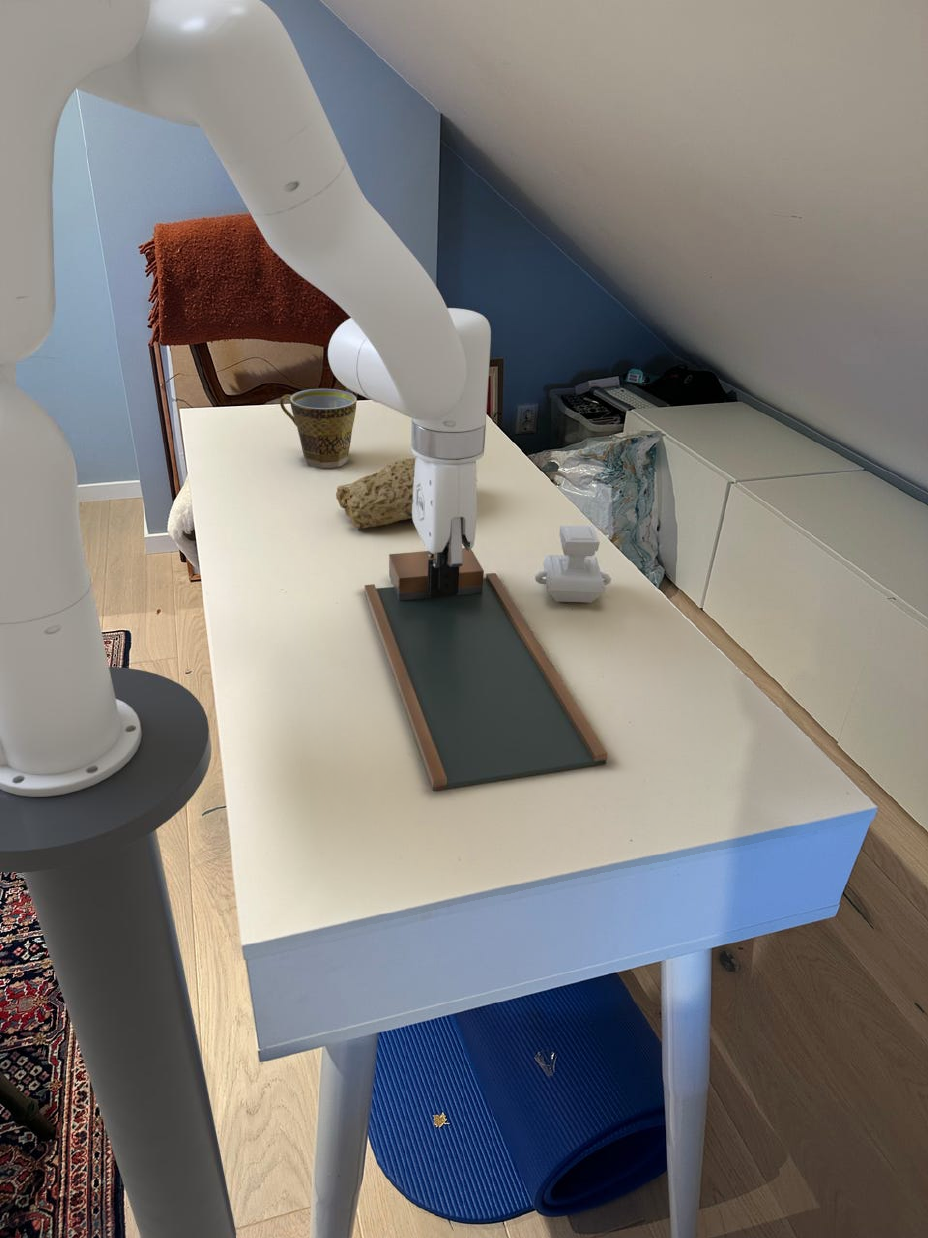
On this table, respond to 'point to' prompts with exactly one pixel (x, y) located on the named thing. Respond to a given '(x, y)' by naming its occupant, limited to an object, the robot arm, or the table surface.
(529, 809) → the table surface
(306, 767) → the table surface
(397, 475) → the sponge
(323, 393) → the ceramic cup
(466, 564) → the eraser
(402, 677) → the slate board
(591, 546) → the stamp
